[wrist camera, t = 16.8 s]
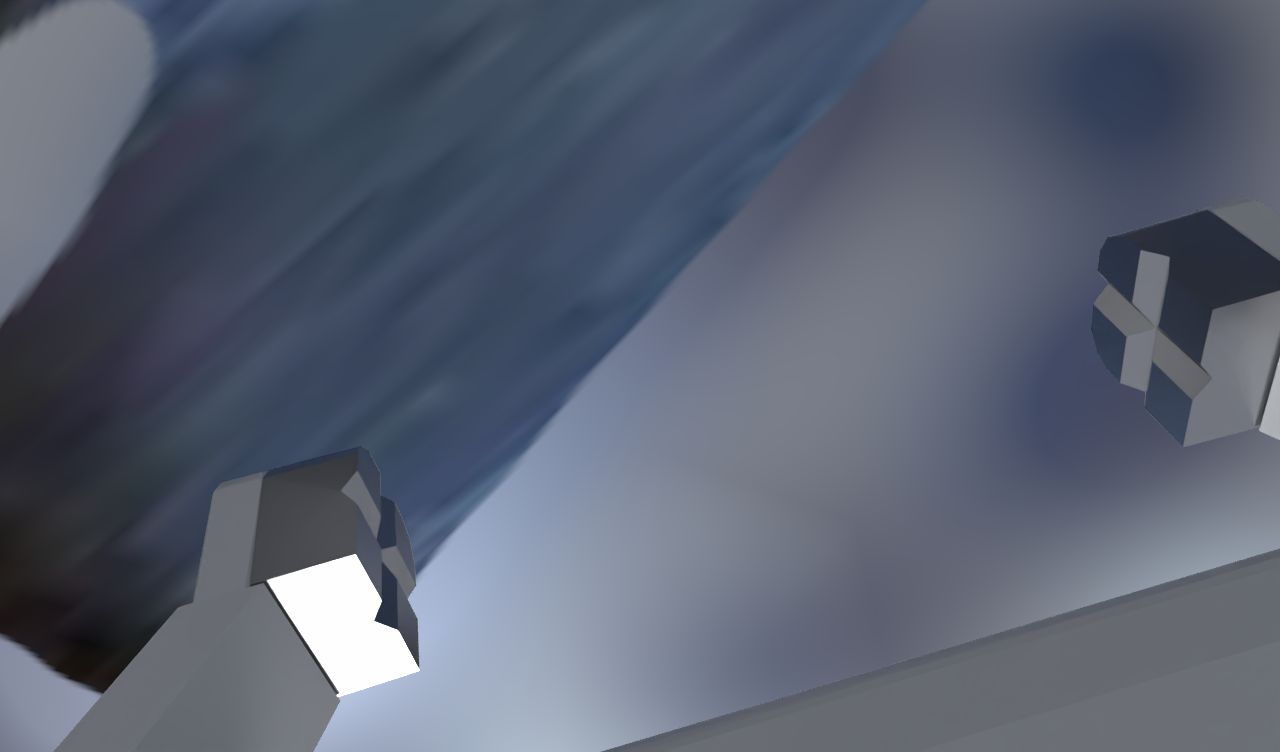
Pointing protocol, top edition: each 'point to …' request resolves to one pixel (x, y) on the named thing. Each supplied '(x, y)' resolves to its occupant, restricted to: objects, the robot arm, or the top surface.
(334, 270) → the top surface
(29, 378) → the top surface
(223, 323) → the top surface
